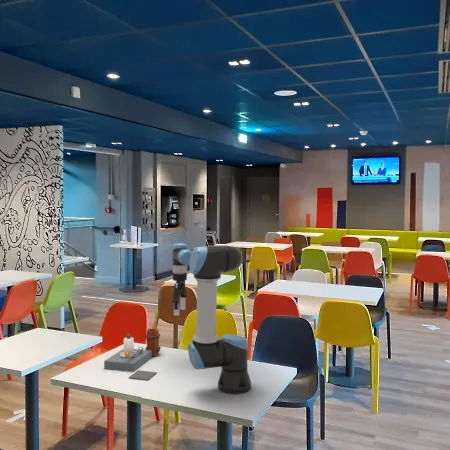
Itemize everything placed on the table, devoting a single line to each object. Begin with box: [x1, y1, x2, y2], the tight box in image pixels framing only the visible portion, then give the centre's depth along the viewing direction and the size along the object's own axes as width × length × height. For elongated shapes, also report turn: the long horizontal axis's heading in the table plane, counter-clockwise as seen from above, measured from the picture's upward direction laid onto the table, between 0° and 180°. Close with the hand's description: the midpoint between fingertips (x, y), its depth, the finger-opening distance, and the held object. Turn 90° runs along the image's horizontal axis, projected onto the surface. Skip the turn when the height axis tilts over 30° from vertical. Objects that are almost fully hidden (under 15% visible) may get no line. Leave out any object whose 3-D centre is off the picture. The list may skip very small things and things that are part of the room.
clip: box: [125, 346, 144, 359], centre depth 244 cm, size 18×3×3 cm, turn 165°
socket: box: [103, 348, 153, 373], centre depth 247 cm, size 22×16×5 cm
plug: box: [120, 333, 138, 358], centre depth 247 cm, size 9×9×15 cm
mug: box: [144, 324, 162, 357], centre depth 263 cm, size 15×8×15 cm, turn 179°
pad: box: [128, 369, 157, 381], centre depth 229 cm, size 10×10×1 cm
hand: (179, 312), depth 253 cm, fingers open, 13 cm apart
